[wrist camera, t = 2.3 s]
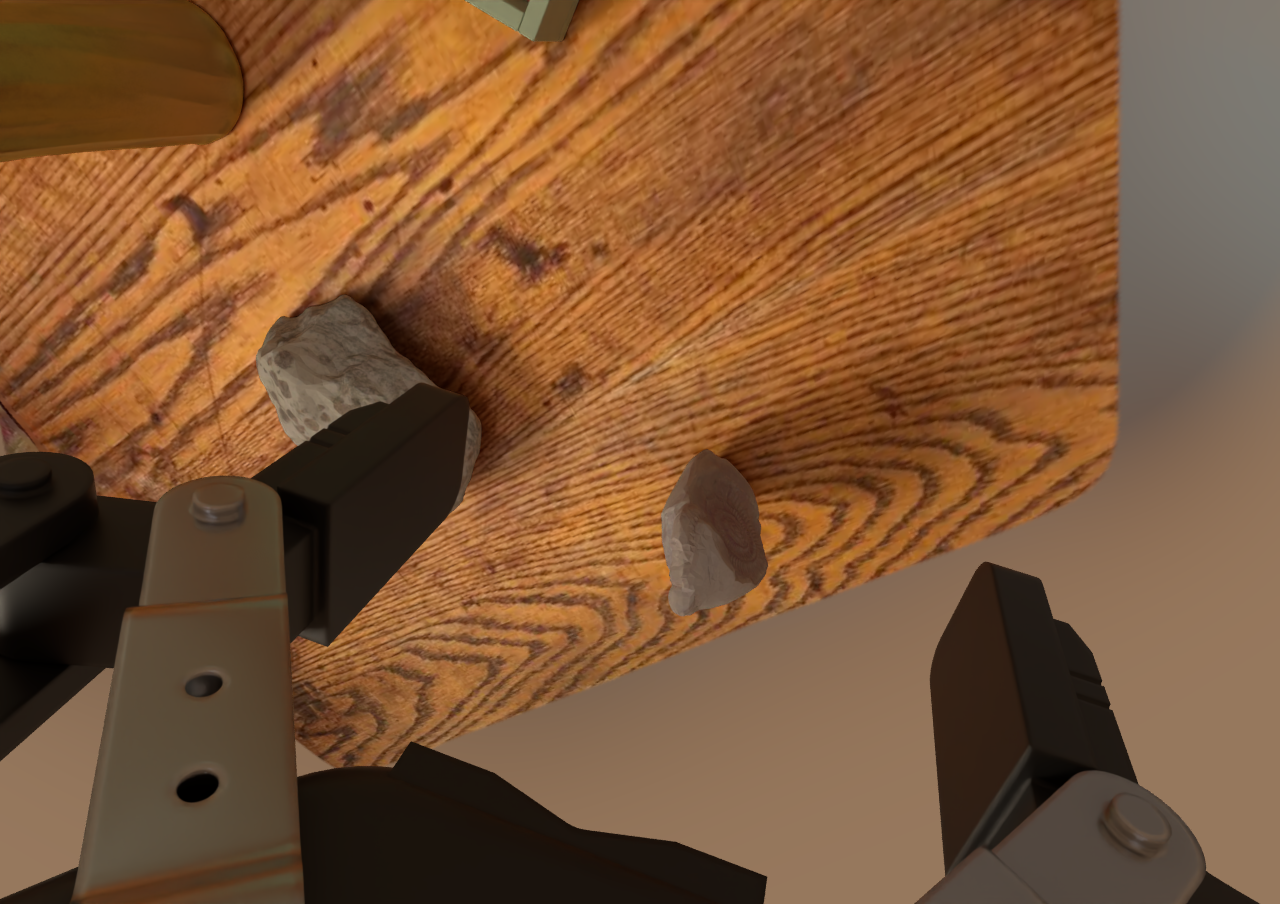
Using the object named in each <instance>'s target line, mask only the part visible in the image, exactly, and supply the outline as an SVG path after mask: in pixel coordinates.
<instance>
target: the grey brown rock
mask: <svg viewBox="0 0 1280 904" xmlns="http://www.w3.org/2000/svg"><path fill="white" fill-rule="evenodd" d="M758 518H759V511H758V505H757V502H756V498H755V495H754V492H753V490H752V488H751V487H750V485H749V483H748V482H747V481H746V479H745V478H744V477H743V476H742V475H741V473H740V472H739V471H738V470H737V469H736V468H735V467H734V466H733V465H732V464H731V463H730V462H729V461H728V460H727V459H723V458H720V457H718V456H717V455H715V454H714V453H713V452H712V451H710V450H708V449H705V450H703V451H702V452H700V453H699V454H698V455H696V456H695V457H693V458H692V459H691V460H690V462H689V463H688V464H687V465H686V467H685V469H684V471H683V473H682V474H681V476H680V478H679V480H678V482H677V483H676V485H675V487H674V489H673V490H672V492H671V494H670V496H669V498H668V500H667V502H666V504H665V507H664V509H663V511H662V514H661V519H662V543H663V548H664V553H665V557H666V563H667V566H668V568H669V569H670V571H669V576H670V581H671V582H672V587H671V589H670V591H669V596H668V597H669V604H670V607H671V609H672V610H673V612H674V613H676V614H678V615H680V616H685V615H691V614H693V613H694V612H696V611H698V610H699V609H710V608H714V607H717V606H721V605H725V604H728V603H730V602H732V601H734V600H735V599H738V598H739V597H741V596H743V595H744V594H746V593H748V592H749V591H751V590H752V589H754V588H755V587H757V586H758V585H759V583H760V582H761V580H762V579H763V577H764V576H765V574H766V570H767V567H768V562H767V561H766V558H765V552H764V549H763V544H762V541H761V537H760V532H761V524H760V522H759V520H758Z"/></svg>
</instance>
